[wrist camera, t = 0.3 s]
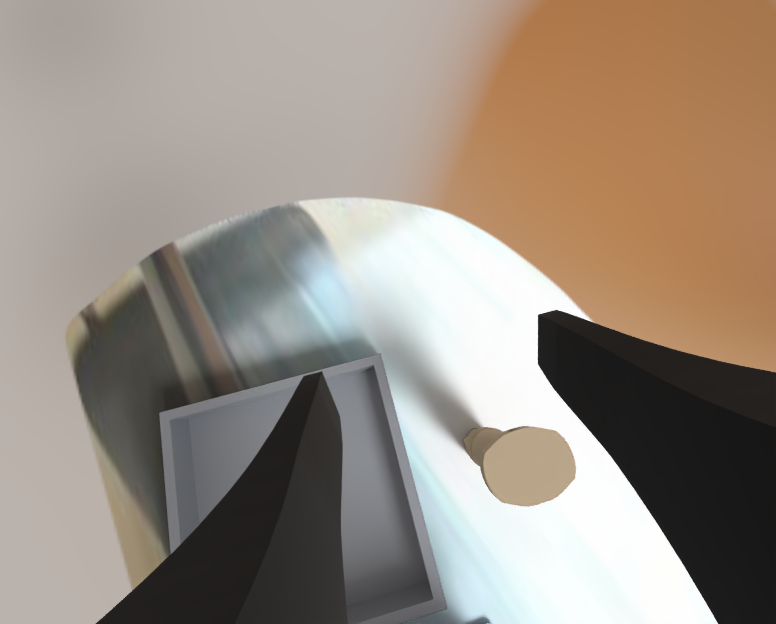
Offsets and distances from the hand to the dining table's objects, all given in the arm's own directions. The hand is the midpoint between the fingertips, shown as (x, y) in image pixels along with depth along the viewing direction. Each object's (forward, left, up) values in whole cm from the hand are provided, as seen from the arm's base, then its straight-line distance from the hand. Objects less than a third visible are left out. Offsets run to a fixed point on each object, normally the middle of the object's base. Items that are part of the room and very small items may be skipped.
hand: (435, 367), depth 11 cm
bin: (-7, +13, -30) cm, 33 cm away
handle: (-7, -7, -30) cm, 31 cm away
